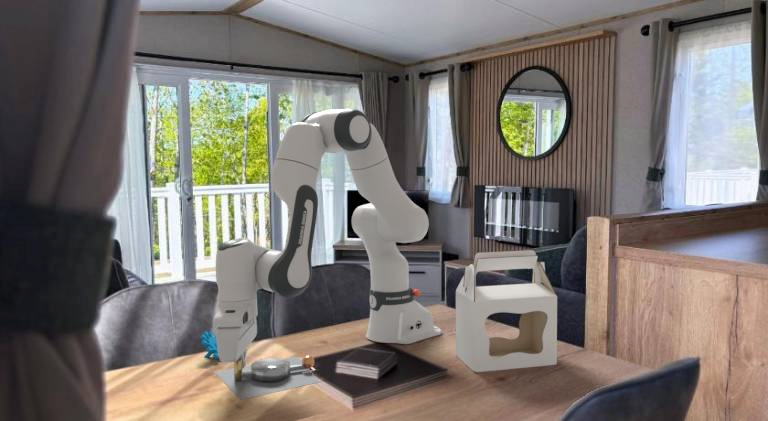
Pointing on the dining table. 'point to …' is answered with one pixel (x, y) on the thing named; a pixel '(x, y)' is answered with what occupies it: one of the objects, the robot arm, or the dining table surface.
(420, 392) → the dining table surface
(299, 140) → the robot arm
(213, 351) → the gear
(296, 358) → the grey square plate
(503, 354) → the gable box
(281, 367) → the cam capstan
